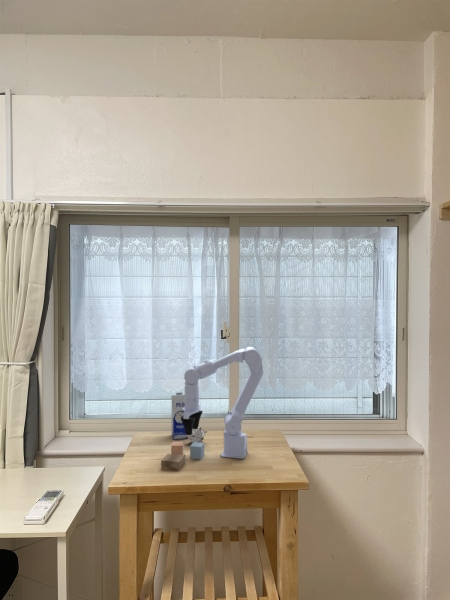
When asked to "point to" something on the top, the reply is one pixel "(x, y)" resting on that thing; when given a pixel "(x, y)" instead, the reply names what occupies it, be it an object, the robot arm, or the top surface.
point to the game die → (197, 435)
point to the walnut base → (173, 462)
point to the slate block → (197, 450)
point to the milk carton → (178, 416)
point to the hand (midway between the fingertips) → (192, 431)
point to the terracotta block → (177, 448)
